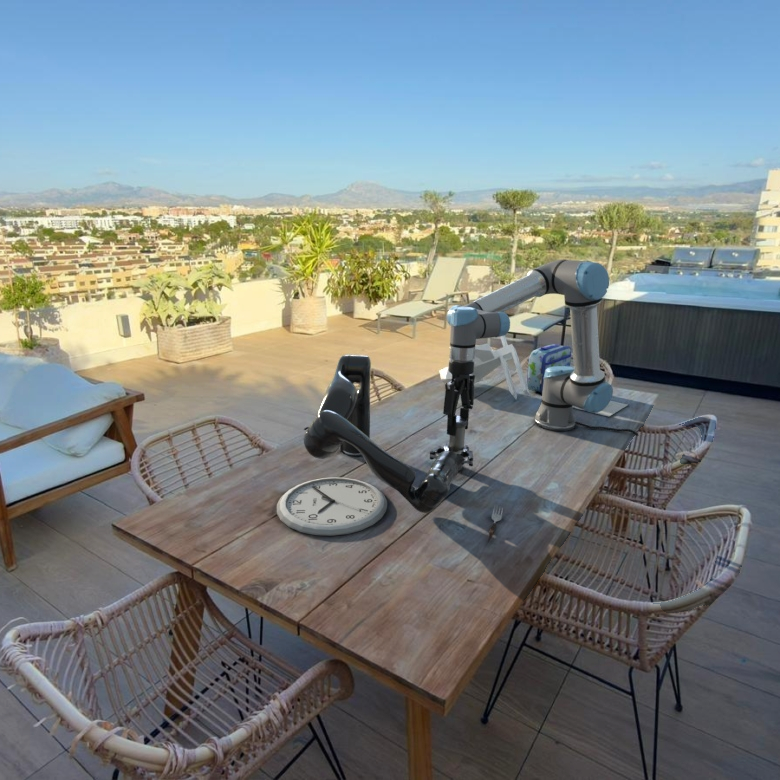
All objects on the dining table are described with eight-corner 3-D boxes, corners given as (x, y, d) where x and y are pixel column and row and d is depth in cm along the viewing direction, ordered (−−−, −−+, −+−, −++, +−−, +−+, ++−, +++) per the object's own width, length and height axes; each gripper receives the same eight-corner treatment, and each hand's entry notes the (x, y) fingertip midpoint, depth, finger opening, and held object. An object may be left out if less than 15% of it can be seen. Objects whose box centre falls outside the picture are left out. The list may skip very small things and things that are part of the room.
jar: (464, 470, 165) (467, 423, 160) (449, 471, 164) (452, 423, 159) (460, 464, 169) (463, 418, 164) (446, 464, 169) (449, 418, 164)
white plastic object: (461, 429, 252) (437, 405, 227) (444, 352, 274) (420, 323, 250) (535, 404, 240) (518, 377, 215) (510, 326, 262) (492, 293, 237)
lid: (468, 421, 164) (468, 416, 164) (466, 428, 159) (466, 423, 158) (449, 420, 165) (449, 415, 165) (447, 426, 160) (447, 421, 160)
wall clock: (392, 527, 129) (268, 531, 127) (391, 533, 130) (269, 537, 127) (383, 473, 158) (282, 475, 155) (383, 478, 158) (282, 480, 156)
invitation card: (608, 416, 214) (573, 407, 224) (608, 416, 214) (573, 408, 224) (628, 404, 229) (594, 396, 238) (628, 405, 229) (594, 397, 238)
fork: (482, 542, 127) (483, 535, 126) (493, 511, 141) (494, 504, 140) (493, 545, 126) (494, 538, 125) (503, 513, 140) (503, 506, 140)
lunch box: (543, 396, 238) (548, 352, 231) (522, 391, 245) (526, 347, 239) (570, 385, 255) (575, 343, 249) (550, 381, 262) (555, 340, 256)
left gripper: (421, 475, 155) (436, 453, 171) (468, 484, 151) (479, 460, 166) (421, 452, 153) (437, 432, 168) (470, 460, 148) (481, 438, 164)
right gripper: (467, 352, 166) (463, 420, 172) (432, 363, 151) (429, 437, 158) (488, 355, 161) (483, 425, 168) (455, 368, 146) (450, 444, 153)
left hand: (458, 446), depth 167 cm, fingers closed on jar, 4 cm apart
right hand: (457, 431), depth 163 cm, fingers open, 7 cm apart
